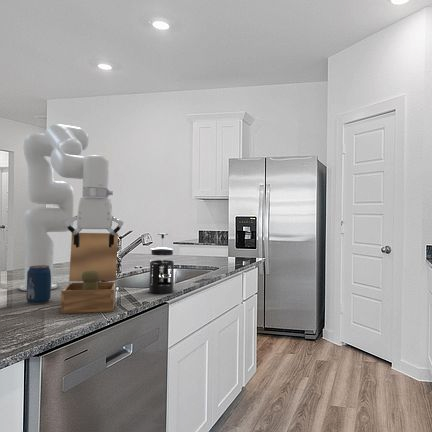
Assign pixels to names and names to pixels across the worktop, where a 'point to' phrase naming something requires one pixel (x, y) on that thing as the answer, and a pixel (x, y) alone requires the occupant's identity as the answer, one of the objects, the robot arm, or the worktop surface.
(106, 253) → the lid
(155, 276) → the french press
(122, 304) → the worktop surface
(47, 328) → the worktop surface
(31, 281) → the soda can
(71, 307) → the chest
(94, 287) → the cork
